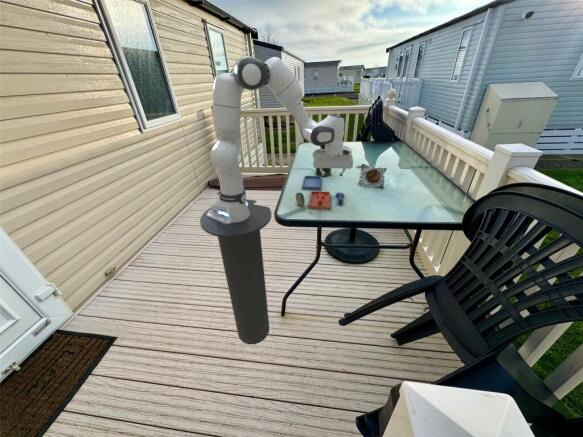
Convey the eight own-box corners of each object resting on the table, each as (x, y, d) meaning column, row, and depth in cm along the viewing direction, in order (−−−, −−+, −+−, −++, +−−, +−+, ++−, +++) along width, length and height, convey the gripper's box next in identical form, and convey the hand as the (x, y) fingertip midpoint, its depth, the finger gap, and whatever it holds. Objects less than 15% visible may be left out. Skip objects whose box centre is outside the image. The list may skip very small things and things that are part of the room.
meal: (383, 186, 155) (387, 166, 148) (382, 189, 151) (386, 168, 144) (359, 183, 159) (362, 163, 153) (358, 185, 156) (361, 166, 149)
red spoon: (323, 206, 132) (324, 201, 130) (315, 205, 133) (315, 200, 131) (324, 195, 143) (324, 190, 141) (316, 195, 144) (317, 190, 142)
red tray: (329, 209, 130) (330, 206, 129) (308, 208, 131) (308, 205, 130) (329, 194, 145) (330, 191, 144) (311, 194, 147) (311, 191, 146)
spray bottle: (313, 175, 172) (315, 139, 159) (318, 170, 180) (320, 135, 167) (327, 177, 168) (330, 140, 155) (332, 172, 176) (335, 137, 163)
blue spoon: (344, 205, 134) (345, 200, 132) (336, 205, 134) (336, 199, 133) (343, 195, 145) (343, 190, 143) (335, 194, 145) (336, 189, 144)
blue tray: (320, 190, 151) (320, 187, 150) (302, 189, 152) (302, 186, 151) (321, 178, 166) (321, 176, 165) (304, 178, 168) (304, 175, 167)
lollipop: (308, 218, 129) (294, 199, 137) (310, 217, 129) (296, 199, 138) (311, 208, 124) (296, 190, 132) (313, 207, 124) (298, 189, 133)
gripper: (312, 151, 120) (312, 177, 128) (354, 151, 118) (351, 178, 125) (313, 147, 126) (312, 173, 133) (353, 148, 123) (351, 173, 130)
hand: (332, 175), depth 129 cm, fingers open, 8 cm apart
